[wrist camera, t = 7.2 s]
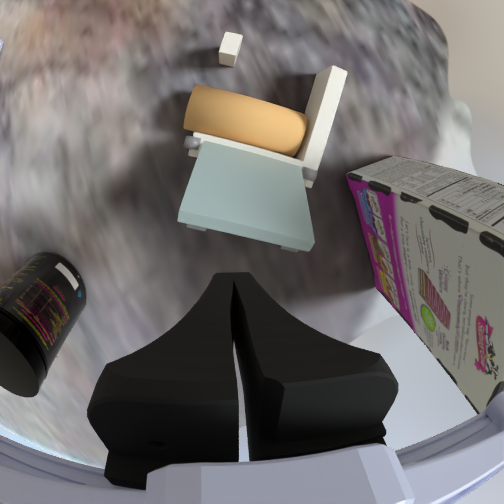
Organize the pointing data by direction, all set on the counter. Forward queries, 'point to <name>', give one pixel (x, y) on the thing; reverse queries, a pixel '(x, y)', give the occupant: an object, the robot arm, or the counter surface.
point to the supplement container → (37, 319)
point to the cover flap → (248, 197)
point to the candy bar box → (440, 263)
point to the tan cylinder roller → (245, 120)
